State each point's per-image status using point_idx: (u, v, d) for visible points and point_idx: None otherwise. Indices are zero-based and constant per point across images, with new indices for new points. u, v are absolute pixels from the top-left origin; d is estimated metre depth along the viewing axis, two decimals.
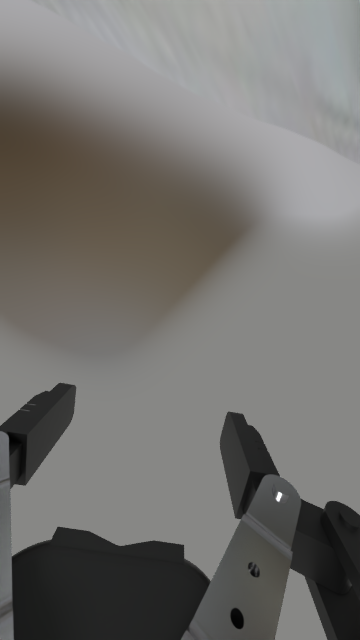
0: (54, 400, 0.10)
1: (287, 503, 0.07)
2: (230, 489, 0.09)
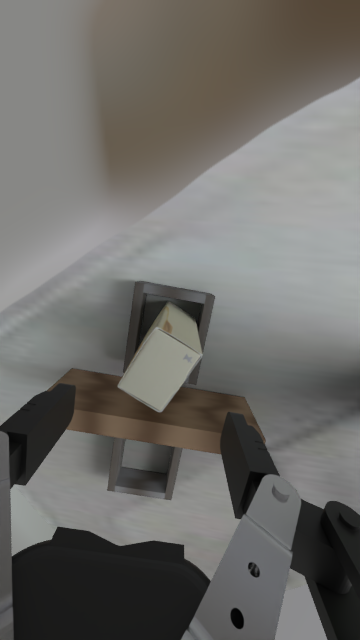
0: (54, 400, 0.10)
1: (287, 503, 0.07)
2: (230, 489, 0.09)
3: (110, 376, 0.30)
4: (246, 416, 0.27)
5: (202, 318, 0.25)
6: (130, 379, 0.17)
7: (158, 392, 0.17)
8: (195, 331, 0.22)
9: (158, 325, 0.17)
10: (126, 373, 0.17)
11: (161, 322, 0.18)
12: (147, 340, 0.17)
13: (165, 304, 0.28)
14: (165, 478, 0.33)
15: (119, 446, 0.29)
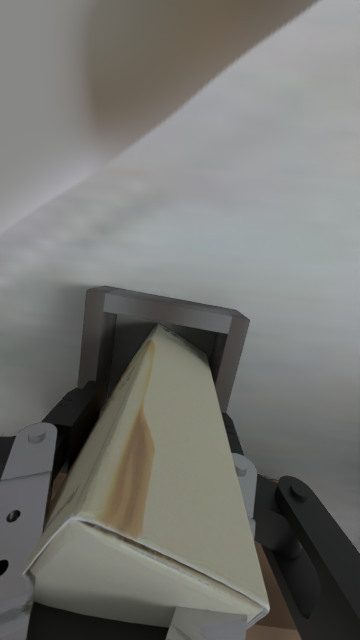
0: (88, 396, 0.10)
1: (243, 476, 0.07)
2: None
3: None
4: None
5: (223, 362, 0.13)
6: None
7: None
8: (215, 410, 0.09)
9: (90, 487, 0.04)
10: None
11: (114, 445, 0.05)
12: (41, 556, 0.04)
13: (152, 329, 0.15)
14: None
15: None
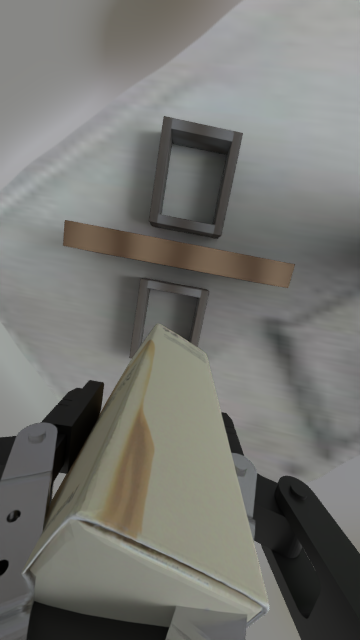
0: (88, 396, 0.10)
1: (243, 476, 0.07)
2: None
3: None
4: None
5: (229, 158, 0.26)
6: None
7: None
8: (215, 410, 0.09)
9: (89, 486, 0.04)
10: None
11: (113, 444, 0.05)
12: (41, 555, 0.04)
13: (152, 329, 0.15)
14: None
15: (142, 306, 0.29)
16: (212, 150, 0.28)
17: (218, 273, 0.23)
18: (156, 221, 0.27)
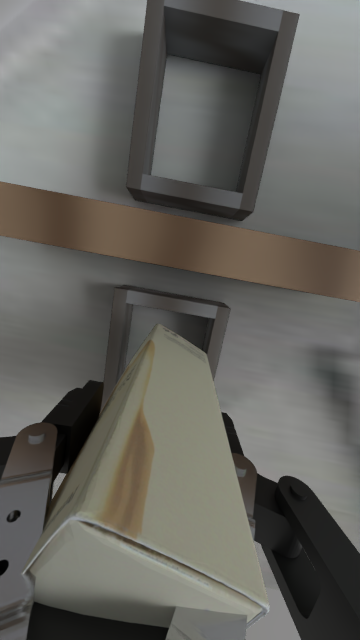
0: (88, 396, 0.10)
1: (243, 476, 0.07)
2: None
3: None
4: None
5: (272, 66, 0.14)
6: None
7: None
8: (215, 410, 0.09)
9: (89, 487, 0.04)
10: None
11: (113, 445, 0.05)
12: (40, 556, 0.04)
13: (152, 329, 0.15)
14: None
15: (119, 334, 0.18)
16: (236, 66, 0.16)
17: (258, 280, 0.12)
18: (139, 187, 0.15)
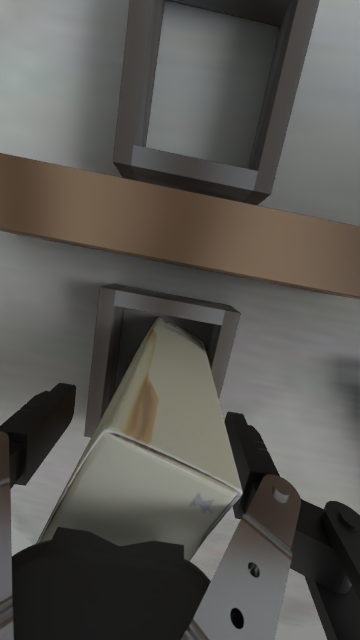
0: (54, 400, 0.10)
1: (287, 503, 0.07)
2: None
3: None
4: None
5: (299, 5, 0.11)
6: None
7: None
8: (209, 381, 0.11)
9: (114, 416, 0.06)
10: (43, 539, 0.07)
11: (128, 395, 0.07)
12: (85, 462, 0.06)
13: None
14: None
15: (106, 343, 0.15)
16: (250, 15, 0.13)
17: (284, 278, 0.09)
18: (129, 162, 0.12)
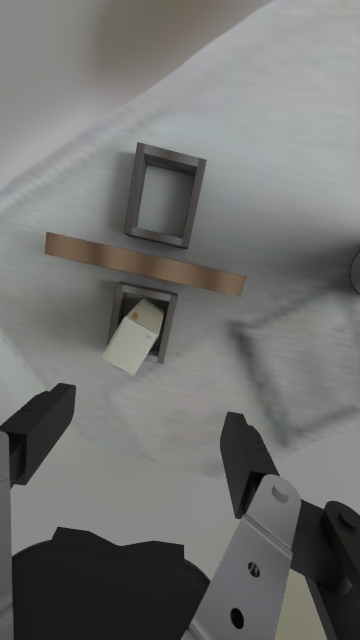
0: (54, 400, 0.10)
1: (287, 503, 0.07)
2: (230, 489, 0.09)
3: None
4: None
5: (195, 181, 0.29)
6: (109, 353, 0.25)
7: (130, 361, 0.25)
8: (159, 320, 0.30)
9: (127, 315, 0.24)
10: (107, 349, 0.25)
11: (130, 313, 0.25)
12: (120, 325, 0.24)
13: None
14: (158, 351, 0.37)
15: (118, 308, 0.33)
16: (182, 172, 0.31)
17: (180, 282, 0.27)
18: (130, 233, 0.31)
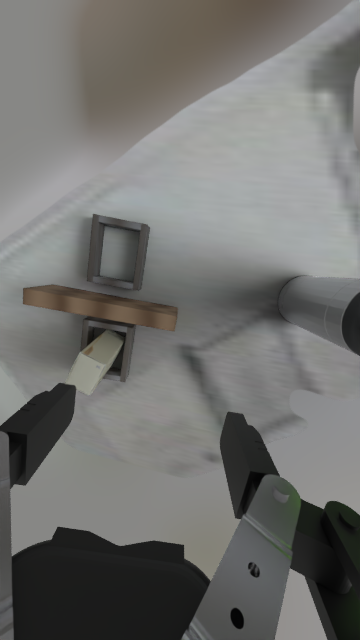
0: (54, 400, 0.10)
1: (287, 503, 0.07)
2: (230, 489, 0.09)
3: (80, 290, 0.42)
4: (171, 310, 0.39)
5: (139, 240, 0.37)
6: (70, 379, 0.33)
7: (86, 385, 0.33)
8: (114, 349, 0.38)
9: (82, 351, 0.33)
10: (68, 376, 0.33)
11: (85, 348, 0.34)
12: (76, 359, 0.32)
13: None
14: None
15: (86, 338, 0.41)
16: (132, 230, 0.40)
17: (126, 321, 0.35)
18: (92, 281, 0.39)
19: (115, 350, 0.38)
